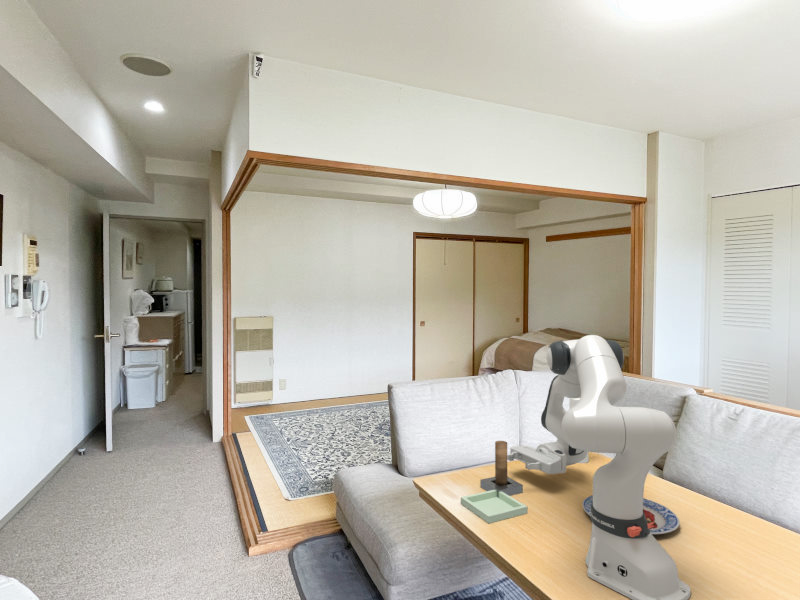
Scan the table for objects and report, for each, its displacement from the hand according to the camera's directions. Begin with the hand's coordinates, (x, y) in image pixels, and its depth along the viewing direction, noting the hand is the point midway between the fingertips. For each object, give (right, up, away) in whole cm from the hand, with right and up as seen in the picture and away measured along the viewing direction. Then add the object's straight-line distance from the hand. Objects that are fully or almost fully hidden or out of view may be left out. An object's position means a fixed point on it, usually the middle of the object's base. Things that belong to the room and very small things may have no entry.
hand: (517, 462), depth 159 cm
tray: (-12, -9, -17) cm, 22 cm away
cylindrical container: (+32, -9, +27) cm, 42 cm away
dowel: (-6, -8, -3) cm, 11 cm away
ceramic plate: (+28, -9, -22) cm, 36 cm away
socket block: (-6, -9, -3) cm, 11 cm away
